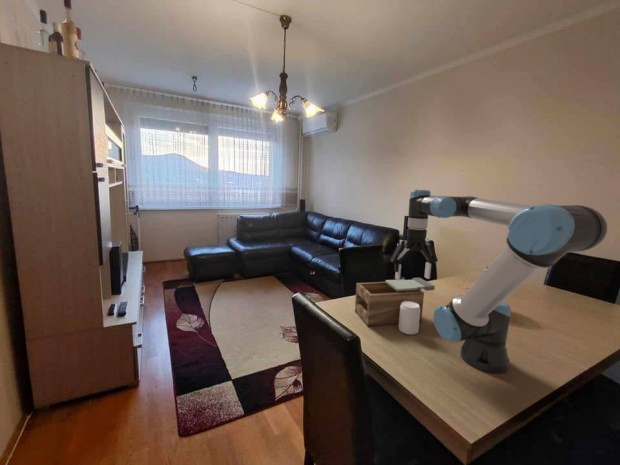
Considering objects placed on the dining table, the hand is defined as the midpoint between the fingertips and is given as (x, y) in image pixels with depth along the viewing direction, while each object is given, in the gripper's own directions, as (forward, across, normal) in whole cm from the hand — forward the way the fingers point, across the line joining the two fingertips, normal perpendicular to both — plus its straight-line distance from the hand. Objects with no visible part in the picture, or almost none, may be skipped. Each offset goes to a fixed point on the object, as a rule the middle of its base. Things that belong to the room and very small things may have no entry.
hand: (412, 278), depth 122 cm
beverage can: (+24, 0, 0) cm, 24 cm away
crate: (+23, +3, -14) cm, 27 cm away
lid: (+9, -7, -14) cm, 18 cm away
